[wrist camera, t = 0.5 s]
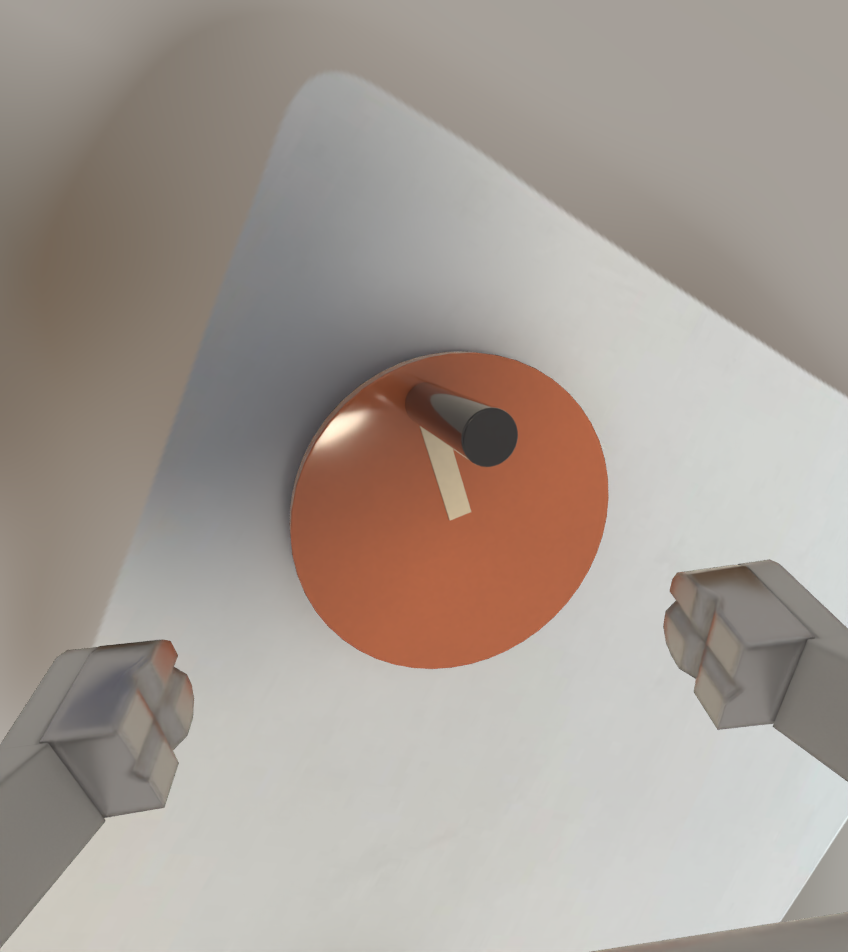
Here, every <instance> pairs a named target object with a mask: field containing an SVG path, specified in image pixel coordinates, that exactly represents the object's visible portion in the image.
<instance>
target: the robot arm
mask: <svg viewBox="0 0 848 952" xmlns="http://www.w3.org/2000/svg"><path fill="white" fill-rule="evenodd" d="M670 592H671V594H672V595H673V597H674V598H675V599H676V601H675V602H674V603H673V604H672V605H671V606H670V607H669V608H668V609H667V610H666V612H665V619H664V626H663V627H664V633H665V639H666V644H667V646H668V649H669V651H670V654H671V656H672V658H673V659H674V661H675V663H676V664H677V666H678V668H679V669H681V670H682V671H684V672H686V673H687V674H689V675H690V676H692V677H694V678H695V679H696V681H695V687H694V693H695V695H696V696H697V698H698V700H699V701H700V703H701V704H702V706H703V707H704V709H705V711H706V712H707V714H708V715H709V717H710V719H711V720H712V722H713V723H714V725H715V726H716V728H717V730H720V729H729V728H738V727H747V726H756V725H765V724H773V727H774V728H775V729H777V730H778V731H779V732H781V733H782V734H784V735H785V736H786V737H788V738H789V739H790V740H792V741H793V742H794V743H796V744H797V745H799V746H800V747H801V748H803V749H804V750H805V751H807V752H808V753H809V754H811V755H812V756H814V757H815V758H816V759H818V760H819V761H820V762H822V763H823V764H824V765H826V766H827V767H829V768H830V769H831V770H833V771H834V772H835V773H837V774H838V775H839V776H841V777H842V778H843V779H845V780H846V781H848V628H847V627H846V626H844V625H843V624H842V623H841V622H840V621H839V620H838V619H837V618H836V617H835V616H834V615H833V614H832V613H831V612H830V611H829V610H828V609H827V608H825V607H824V606H823V605H822V604H821V603H820V602H819V601H818V600H817V599H816V598H815V597H814V596H813V595H812V594H811V593H810V592H809V591H808V590H807V589H805V588H804V587H803V586H802V585H801V584H800V583H799V582H798V581H797V580H796V579H795V578H794V577H793V576H792V575H791V574H790V573H789V572H788V571H786V570H785V569H784V568H783V567H782V566H781V565H780V564H779V563H777V562H774V561H772V560H763V561H756V562H749V563H742V564H738V565H728V566H721V567H714V568H707V569H700V570H692V571H685V572H678V573H677V574H676V575H675V576H674V578H673V579H672V583H671V587H670ZM177 657H178V654H177V653H176V651H175V649H174V647H173V645H172V643H171V641H168V640H154V641H145V642H135V643H126V644H116V645H107V646H99V647H94V648H84V649H75V650H67V651H65V652H64V653H62V654H61V655H60V656H58V657H57V658H56V659H55V661H54V662H53V664H52V665H51V667H50V668H49V670H48V671H47V673H46V674H45V676H44V678H43V679H42V681H41V682H40V684H39V685H38V687H37V688H36V690H35V691H34V693H33V695H32V696H31V698H30V699H29V701H28V702H27V704H26V705H25V707H24V708H23V710H22V712H21V713H20V715H19V717H18V718H17V719H16V721H15V722H14V724H13V726H12V727H11V729H10V730H9V732H8V733H7V735H6V736H5V738H4V739H3V741H2V743H1V744H0V948H1V947H2V946H3V944H4V943H5V942H6V941H7V940H8V938H9V937H10V936H11V935H12V934H13V932H14V931H15V930H16V929H17V927H18V926H19V925H20V924H21V923H22V921H23V920H24V919H25V918H26V917H27V915H28V914H29V913H30V912H31V911H32V909H33V908H34V907H35V906H36V905H37V903H38V902H39V901H40V900H41V898H42V897H43V896H44V895H45V894H46V892H47V891H48V890H49V889H50V888H51V886H52V885H53V884H54V883H55V882H56V880H57V879H58V878H59V877H60V876H61V874H62V873H63V872H64V871H65V870H66V868H67V867H68V866H69V865H70V863H71V862H72V861H73V860H74V859H75V857H76V856H77V855H78V854H79V853H80V851H81V850H82V849H83V848H84V847H85V845H86V844H87V843H88V842H89V841H90V839H91V838H92V837H93V836H94V834H95V833H96V832H97V831H98V830H99V828H100V827H101V826H102V825H103V824H104V822H105V819H104V818H106V817H112V816H118V815H124V814H130V813H136V812H141V811H147V810H153V809H159V808H164V807H165V804H166V801H167V798H168V795H169V792H170V789H171V786H172V783H173V779H174V776H175V773H176V770H177V767H178V764H179V762H178V760H177V758H176V756H175V754H174V752H173V750H174V749H175V748H176V747H177V746H178V745H179V744H180V743H181V742H182V741H183V740H184V739H185V738H186V737H187V736H188V732H189V729H190V726H191V722H192V719H193V708H194V695H193V690H192V685H191V682H190V680H189V678H188V676H187V674H185V673H184V672H182V671H180V670H179V669H177V668H175V667H174V665H175V662H176V659H177ZM591 952H848V912H843V913H837V914H830V915H824V916H818V917H811V918H804V919H798V920H792V921H785V922H779V923H772V924H766V925H759V926H753V927H746V928H740V929H733V930H727V931H720V932H714V933H708V934H701V935H695V936H688V937H682V938H675V939H669V940H662V941H656V942H649V943H643V944H636V945H630V946H624V947H617V948H611V949H604V950H598V951H591Z"/></svg>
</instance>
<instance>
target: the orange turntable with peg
mask: <svg viewBox="0 0 848 952" xmlns="http://www.w3.org/2000/svg"><path fill="white" fill-rule="evenodd" d="M607 508H608V476H607V470H606V463H605V458H604V455H603V451H602V448H601V445H600V441H599V439H598V437H597V435H596V433H595V430H594V428H593V426H592V424H591V422H590V421H589V419H588V417H587V416H586V414H585V413H584V411H583V410H582V408H581V407H580V406H579V404H578V403H577V402H576V401H575V400H574V399H573V397H572V396H571V395H570V394H569V393H568V392H567V391H566V390H565V389H564V388H562V387H561V386H560V385H559V384H558V383H557V382H555V381H554V380H553V379H552V378H550V377H548V376H547V375H545V374H544V373H542V372H540V371H539V370H537V369H535V368H533V367H531V366H528V365H526V364H524V363H521V362H519V361H517V360H513V359H509V358H506V357H502V356H498V355H493V354H485V353H477V352H468V351H462V352H442V353H436V354H430V355H424V356H420V357H417V358H414V359H411V360H408V361H405V362H401V363H399V364H397V365H395V366H393V367H391V368H389V369H386V370H384V371H382V372H380V373H379V374H377V375H375V376H374V377H372V378H371V379H369V380H368V381H366V382H365V383H363V384H361V385H360V386H359V387H358V388H356V389H355V390H354V391H353V392H352V393H351V394H349V395H348V396H347V397H346V398H345V399H344V400H342V401H341V403H340V404H339V405H338V406H337V407H336V408H335V409H334V410H333V411H332V413H331V414H330V415H329V416H328V417H327V418H326V419H325V421H324V422H323V424H322V425H321V427H320V428H319V430H318V431H317V433H316V434H315V435H314V437H313V439H312V441H311V443H310V445H309V447H308V448H307V450H306V452H305V454H304V456H303V458H302V461H301V464H300V467H299V470H298V473H297V476H296V479H295V482H294V488H293V493H292V498H291V505H290V523H289V524H290V536H291V547H292V555H293V559H294V563H295V568H296V572H297V575H298V578H299V580H300V583H301V585H302V587H303V590H304V592H305V594H306V596H307V598H308V599H309V601H310V603H311V604H312V606H313V608H314V610H315V611H316V612H317V614H318V615H319V616H320V617H321V618H322V620H323V621H324V622H325V623H326V624H327V626H328V627H329V628H330V629H332V630H333V631H334V632H335V633H336V634H337V635H338V636H339V637H340V638H342V639H343V640H344V641H346V642H347V643H349V644H350V645H352V646H353V647H355V648H356V649H358V650H359V651H361V652H363V653H366V654H368V655H370V656H372V657H374V658H376V659H379V660H382V661H385V662H388V663H391V664H395V665H400V666H406V667H411V668H425V669H438V668H452V667H457V666H463V665H468V664H472V663H475V662H479V661H482V660H485V659H489V658H491V657H493V656H496V655H498V654H500V653H503V652H505V651H507V650H509V649H511V648H512V647H514V646H516V645H518V644H519V643H521V642H523V641H525V640H526V639H527V638H529V637H530V636H532V635H533V634H534V633H536V632H537V631H539V630H540V629H541V628H542V627H543V626H544V625H546V624H547V623H548V622H549V621H550V620H551V619H552V618H554V617H555V615H556V614H557V613H558V612H559V611H560V610H561V609H562V608H563V607H564V606H565V605H566V604H567V602H568V601H569V600H570V598H571V597H572V596H573V594H574V593H575V592H576V590H577V589H578V588H579V586H580V584H581V583H582V581H583V579H584V578H585V576H586V574H587V573H588V571H589V569H590V567H591V564H592V562H593V560H594V558H595V556H596V554H597V551H598V548H599V545H600V542H601V539H602V536H603V531H604V527H605V522H606V517H607Z"/></svg>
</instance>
